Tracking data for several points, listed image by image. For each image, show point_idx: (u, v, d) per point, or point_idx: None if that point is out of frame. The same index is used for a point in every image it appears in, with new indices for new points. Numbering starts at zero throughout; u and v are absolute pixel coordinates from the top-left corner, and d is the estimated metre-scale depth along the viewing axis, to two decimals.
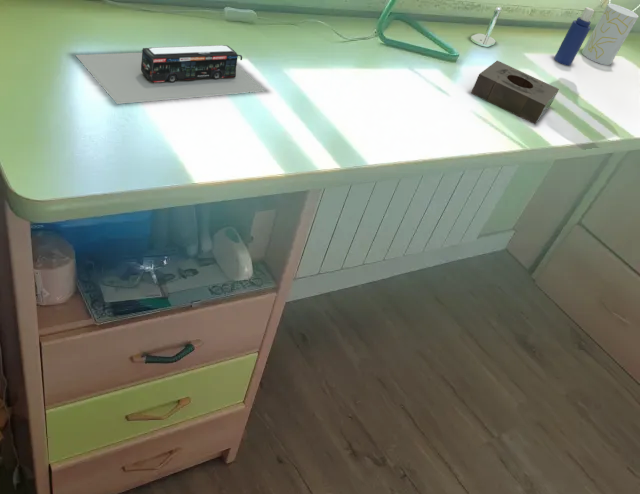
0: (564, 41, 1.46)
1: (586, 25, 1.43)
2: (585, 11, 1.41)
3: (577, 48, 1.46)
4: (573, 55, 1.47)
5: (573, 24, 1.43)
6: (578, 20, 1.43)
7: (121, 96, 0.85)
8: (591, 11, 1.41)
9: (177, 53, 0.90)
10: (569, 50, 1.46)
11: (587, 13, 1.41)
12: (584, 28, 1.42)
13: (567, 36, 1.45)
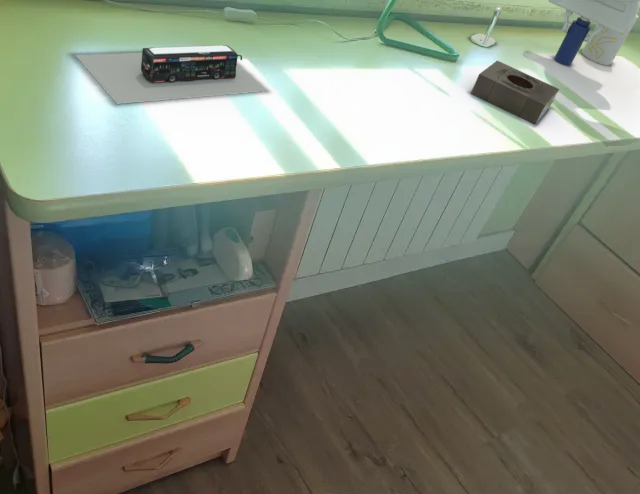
0: (564, 41, 1.46)
1: (586, 25, 1.43)
2: None
3: (577, 48, 1.46)
4: (573, 55, 1.47)
5: (573, 24, 1.43)
6: (578, 20, 1.43)
7: (121, 96, 0.85)
8: None
9: (177, 53, 0.90)
10: (569, 50, 1.46)
11: None
12: (584, 28, 1.42)
13: (567, 36, 1.45)
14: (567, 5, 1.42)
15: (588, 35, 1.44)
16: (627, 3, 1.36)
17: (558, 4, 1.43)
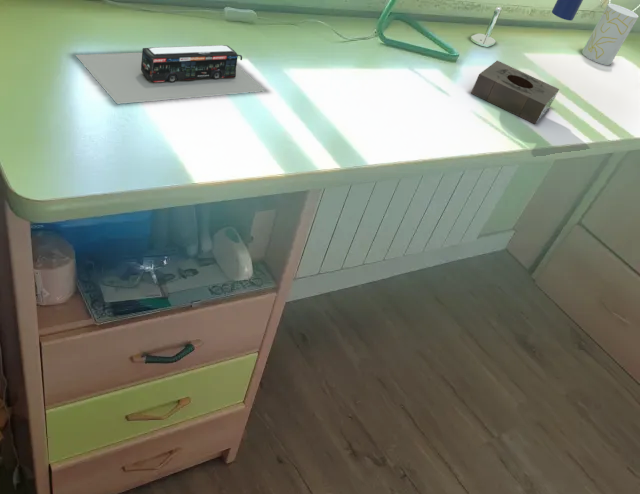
0: None
1: None
2: None
3: None
4: (576, 7, 1.16)
5: None
6: None
7: (121, 96, 0.85)
8: None
9: (177, 53, 0.90)
10: (570, 0, 1.15)
11: None
12: None
13: None
14: None
15: None
16: None
17: None
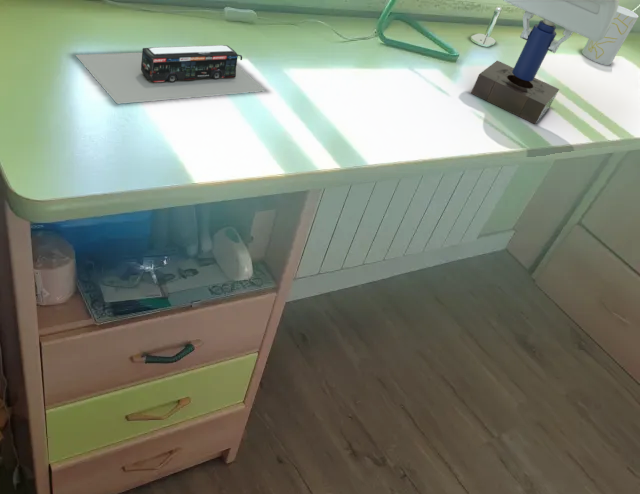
0: (523, 51, 1.15)
1: (550, 30, 1.12)
2: None
3: (540, 60, 1.15)
4: (535, 68, 1.16)
5: (534, 29, 1.12)
6: (540, 24, 1.12)
7: (121, 96, 0.85)
8: None
9: (177, 53, 0.90)
10: (529, 62, 1.15)
11: None
12: (548, 34, 1.11)
13: (527, 44, 1.14)
14: (525, 5, 1.11)
15: (553, 43, 1.13)
16: (601, 2, 1.05)
17: (515, 4, 1.12)
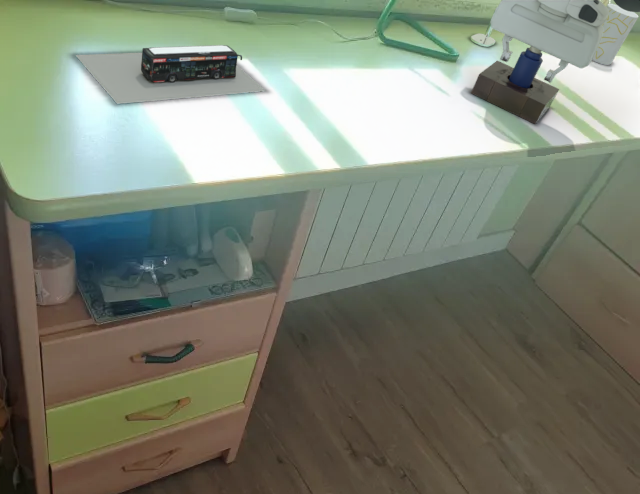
0: (511, 77, 1.19)
1: (537, 58, 1.15)
2: None
3: (527, 85, 1.18)
4: None
5: (521, 56, 1.16)
6: (527, 52, 1.15)
7: (121, 96, 0.85)
8: None
9: (177, 53, 0.90)
10: None
11: None
12: (534, 62, 1.15)
13: (514, 71, 1.18)
14: (513, 32, 1.14)
15: (549, 73, 1.16)
16: (586, 31, 1.08)
17: (503, 31, 1.15)
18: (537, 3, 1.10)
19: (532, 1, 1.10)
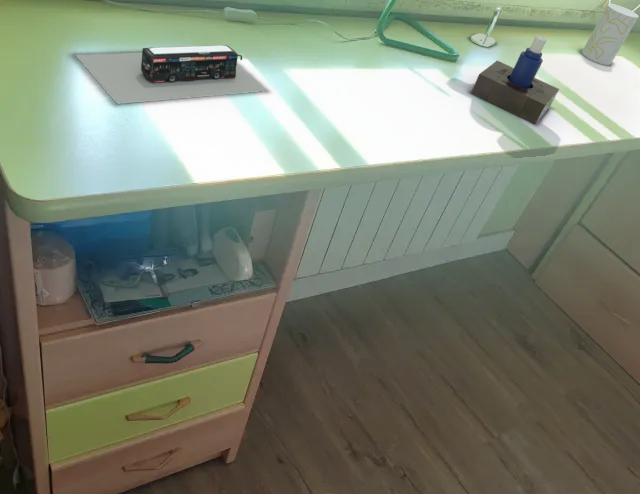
0: (511, 77, 1.19)
1: (537, 58, 1.15)
2: (535, 41, 1.14)
3: (527, 85, 1.18)
4: None
5: (521, 56, 1.16)
6: (527, 52, 1.15)
7: (121, 96, 0.85)
8: (542, 41, 1.13)
9: (177, 53, 0.90)
10: None
11: (537, 43, 1.14)
12: (534, 62, 1.15)
13: (514, 71, 1.18)
14: None
15: None
16: None
17: None
18: None
19: None
